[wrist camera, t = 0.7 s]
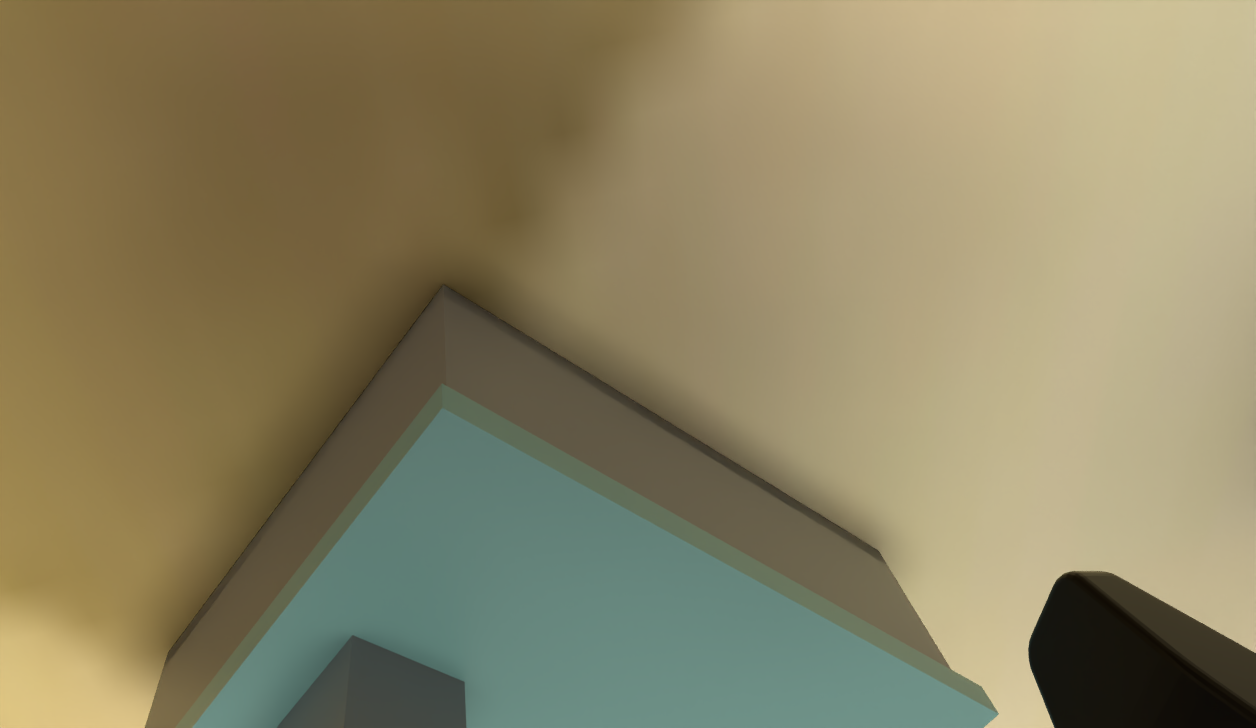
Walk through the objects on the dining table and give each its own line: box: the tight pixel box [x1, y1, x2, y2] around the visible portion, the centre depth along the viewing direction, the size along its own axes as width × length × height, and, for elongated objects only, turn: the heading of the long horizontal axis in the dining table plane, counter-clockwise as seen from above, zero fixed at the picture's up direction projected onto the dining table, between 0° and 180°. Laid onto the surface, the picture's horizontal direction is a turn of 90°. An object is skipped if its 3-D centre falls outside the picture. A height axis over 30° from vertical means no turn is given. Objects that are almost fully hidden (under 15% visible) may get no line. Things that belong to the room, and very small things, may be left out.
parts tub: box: [145, 285, 950, 728], centre depth 24 cm, size 14×12×5 cm
